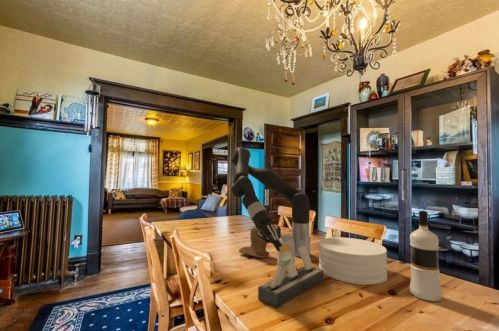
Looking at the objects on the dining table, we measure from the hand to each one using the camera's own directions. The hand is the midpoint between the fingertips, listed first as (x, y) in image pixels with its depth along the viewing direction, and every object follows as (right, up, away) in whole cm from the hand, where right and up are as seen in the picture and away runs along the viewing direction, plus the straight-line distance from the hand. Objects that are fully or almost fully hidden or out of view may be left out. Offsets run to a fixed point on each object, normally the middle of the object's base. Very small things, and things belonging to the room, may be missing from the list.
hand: (280, 250), depth 92 cm
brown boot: (-9, -15, +33) cm, 38 cm away
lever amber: (+4, -8, -5) cm, 10 cm away
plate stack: (+34, -15, +14) cm, 39 cm away
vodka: (+50, -13, -9) cm, 53 cm away
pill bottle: (+4, -14, +16) cm, 22 cm away
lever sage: (-4, -8, -12) cm, 15 cm away
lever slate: (+12, -9, +3) cm, 15 cm away
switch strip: (+4, -13, -5) cm, 14 cm away
